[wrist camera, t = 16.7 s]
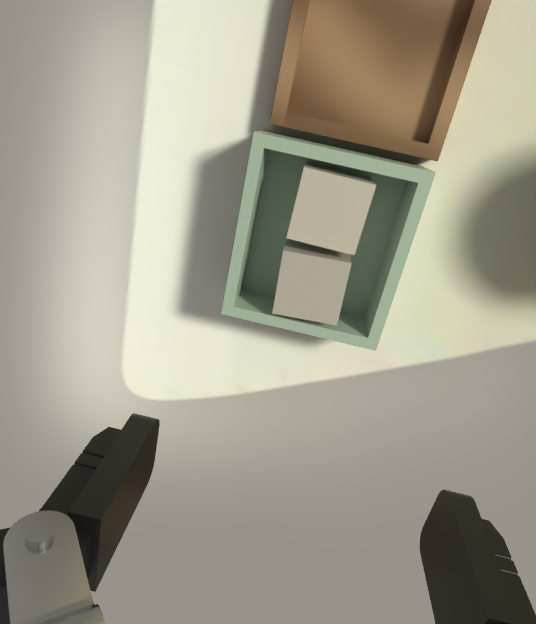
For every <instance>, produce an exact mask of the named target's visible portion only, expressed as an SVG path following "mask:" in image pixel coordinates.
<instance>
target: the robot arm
mask: <svg viewBox="0 0 536 624" xmlns="http://www.w3.org/2000/svg"><path fill="white" fill-rule="evenodd" d="M158 431H159V420H158V419H155V418H151V417H147V416H142V415H138V414H132V415H131V416H130V418H129V419H128V421H127V422H126V424H125V425H124V427H123V428H122V430H119V429H115V428H111V427H108V428H107V429H105V430H103V431H102V432H100V433H99V434H97V435H96V436H94V437H93V438H92V439H91V441H90V442H89V444H88V445H87V446H86V448H85V449H84V450H83V453H82V454H80V456H79V457H78V459H77V460H76V461H75V464H74V465H73V466H72V467H71V468H70V470H69V471H68V472H67V474H66V475H65V477H64V478H63V479H62V481H61V482H60V484H59V485H58V486H57V488H56V489H55V490H54V492H53V493H52V494H51V496H50V497H49V499H48V500H47V501H46V503H45V504H44V505H43V507H42V508H41V509H40V510H39V512H35V513H32V514H29V515H27V516H25V517H23V518H21V519H20V520H18V521H17V522H16V523H14V525H13V526H12V527H10V528H6V529H1V530H0V624H105V621H104V618H103V614H102V611H101V609H100V607H99V605H98V604H97V605H94V602H93V599H92V595H91V591H96V589H97V587H98V585H99V583H100V581H101V579H102V577H103V575H104V573H105V571H106V569H107V566H108V564H109V562H110V560H111V558H112V556H113V554H114V552H115V550H116V548H117V546H118V544H119V542H120V540H121V538H122V536H123V534H124V532H125V530H126V527H127V525H128V523H129V521H130V519H131V517H132V515H133V513H134V511H135V509H136V507H137V505H138V503H139V501H140V499H141V497H142V494H143V492H144V490H145V488H146V486H147V484H148V482H149V479H150V476H151V473H152V470H153V466H154V461H155V454H156V445H157V439H158ZM420 553H421V558H422V562H423V567H424V572H425V577H426V581H427V586H428V591H429V595H430V600H431V604H432V609H433V614H434V618H435V623H436V624H536V615H535V613H534V610H533V608H532V605H531V603H530V600H529V598H528V596H527V593H526V591H525V589H524V586H523V584H522V581H521V579H520V577H519V576H518V575H517V573H518V572H517V570H516V567H515V565H514V562H513V561H511V555H510V553H509V551H508V548H507V546H506V543H505V541H504V539H503V537H502V536H501V535H500V534H499V532H498V531H497V530H496V529H495V527H494V526H493V525H492V524H491V522H490V521H488V520H484V519H481V517H480V514H479V511H478V509H477V506H476V503H475V501H474V499H473V498H472V497H471V496H468V495H464V494H460V493H456V492H451V491H447V490H442V491H441V492H440V493H439V495H438V497H437V499H436V501H435V503H434V505H433V507H432V509H431V512H430V514H429V516H428V518H427V520H426V522H425V524H424V526H423V529H422V532H421V537H420ZM90 590H91V591H90Z"/></svg>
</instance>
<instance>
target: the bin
mask: <svg viewBox="0 0 536 624" xmlns="http://www.w3.org/2000/svg"><path fill="white" fill-rule="evenodd" d="M306 161H308V162H312V163H316V164H320V165H324V166H328V167H332V168H336V169H340V170H344V171H348V172H352V173H356V174H360V175H364V176H368V177H370V178H371V179H372V180H373V181H374V183H375V184H376V188H375V191H374V195H373V198H372V201H371V204H370V207H369V211H368V214H367V217H366V220H365V223H364V227H363V230H362V233H361V236H360V239H359V243H358V246H357V249H356V252H355V255H351V254H350V256H351V262H352V264H351V269H350V273H349V277H348V281H347V285H346V290H345V294H344V298H343V302H342V307H341V311H340V315H339V319H338V323H337V326H336V325H331V324H325V323H320V322H315V321H310V320H304V319H299V318H294V317H288V316H283V315H278V314H273V313H272V312H273V306H274V300H275V294H276V289H277V283H278V277H279V271H280V266H281V260H282V254H283V249H284V246H285V243H286V240H287V238H286V237H287V233H288V229H289V225H290V221H291V217H292V213H293V209H294V205H295V201H296V197H297V193H298V189H299V185H300V181H301V177H302V173H303V169H304V166H305V164H306ZM434 176H435V172H433V171H431V170H429V169H427V168H425V167H423V166H419V165H415V164H411V163H406V162H402V161H397V160H393V159H388V158H384V157H379V156H375V155H370V154H366V153H362V152H357V151H353V150H348V149H344V148H339V147H335V146H330V145H326V144H321V143H317V142H313V141H308V140H304V139H299V138H295V137H290V136H286V135H281V134H277V133H272V132H268V131H264V130H262V131H255V132H254V133H253V139H252V144H251V150H250V156H249V161H248V167H247V172H246V178H245V183H244V189H243V194H242V200H241V206H240V211H239V217H238V222H237V228H236V233H235V239H234V245H233V250H232V256H231V261H230V267H229V272H228V278H227V284H226V289H225V295H224V300H223V306H222V311H221V314H222V315H227V316H231V317H235V318H239V319H244V320H248V321H252V322H256V323H261V324H265V325H269V326H273V327H278V328H282V329H286V330H290V331H295V332H299V333H303V334H307V335H312V336H316V337H320V338H324V339H329V340H333V341H337V342H341V343H346V344H350V345H354V346H359V347H363V348H367V349H371V350H376V348H377V345H378V342H379V339H380V336H381V333H382V330H383V328H384V325H385V322H386V319H387V316H388V313H389V310H390V307H391V304H392V301H393V298H394V295H395V292H396V289H397V286H398V283H399V280H400V277H401V274H402V271H403V268H404V265H405V262H406V259H407V256H408V253H409V250H410V247H411V244H412V241H413V238H414V235H415V232H416V229H417V226H418V223H419V221H420V218H421V215H422V212H423V209H424V206H425V203H426V200H427V197H428V194H429V191H430V188H431V185H432V182H433V179H434Z"/></svg>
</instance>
